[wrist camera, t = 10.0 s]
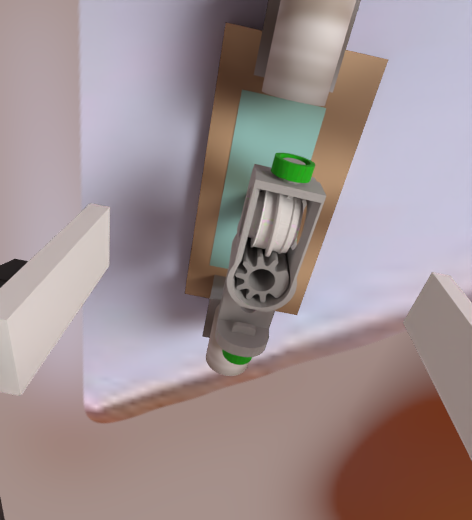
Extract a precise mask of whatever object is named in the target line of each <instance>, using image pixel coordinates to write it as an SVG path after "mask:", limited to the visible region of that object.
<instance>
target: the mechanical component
mask: <svg viewBox="0 0 472 520" xmlns="http://www.w3.org/2000/svg"><path fill="white" fill-rule="evenodd" d="M314 168H315V163H314V162H312V161H311V160H309V159H306V158H304V157H301V156H298V155H294V154H290V153H276V154H275V156H274V160H273V164H272V168H271V167H267V166H262V165H258V164H254V167H253V170H252V174H251V177H250V181H249V185H248V190H247V194H246V198H245V202H244V206H243V210H242V214H241V218H240V221H239V223H238V226H237V234H236V235H235V237H234V239H233V242H232V247H231V254H230V261H229V268H228V272H227V276H226V280H225V284H224V288H223V293H222V297H221V302H220V307H219V312H218V318H217V325H216V331H215V339H216V341H217V343H218V345H219V346H220V347H221V348H222V349H223V350H222V353H223V356H224V358H225V359H226V360H227V361H229V362H230V363H233V364H236V365H244V364H247V363H248V362H250V360H251V359H252V357H254V356H257V355H260V354H261V353H262V352H263V351H264V350H265V347H266V345H267V342H268V339H269V327H270V324H271V321H272V318H273V315H274V312H275V310H276V309H278V308H281V307H282V306H284V305H285V304H287V303H288V302H289V301H290V300H291V298H292V297H293V295H294V294H295V291H296V287H297V276H298V273H299V270H300V267H301V265H302V262H303V259H304V256H305V254H306V251H307V248H308V245H309V243H310V240H311V237H312V234H313V232H314V229H315V226H316V223H317V220H318V218H319V215H320V212H321V209H322V207H323V204H324V201H325V198H326V194H325V192H324V190H323V188H322V186H321V184H320V182H317V181H316V179H315V178H314V177H312V174H313V171H314ZM306 205H307V212H306V219H305V223H304V227H303V231H302V234H301V237H300V240H299V242H298V244H297V236H298V232H299V229H300V225H301V221H302V216H303V212H304V209H305V207H306Z"/></svg>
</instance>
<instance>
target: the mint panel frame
mask: <svg viewBox="0 0 472 520" xmlns="http://www.w3.org/2000/svg"><path fill="white" fill-rule="evenodd" d="M360 1H361V0H268V5H267V10H266V15H265V20H264V25H263V30H262V31H261V30H257V29H252V28H248V27H244V26H239V25H235V24H231V23H226V24H225V30H224V37H223V44H222V50H221V57H220V63H219V70H218V77H217V83H216V90H215V96H214V103H213V110H212V116H211V123H210V129H209V136H208V143H207V149H206V156H205V162H204V169H203V176H202V182H201V189H200V196H199V202H198V209H197V215H196V222H195V229H194V235H193V242H192V248H191V255H190V262H189V268H188V275H187V281H186V288H185V294H190V295H195V296H200V297H205V298H210V300H209V305H208V310H207V316H206V321H205V326H204V331H203V337H209V338H210V339H209V343H208V348H207V353H206V361H207V363H208V365H209V366H210V368H211V369H212V370H214V371H215V372H217V373H219V374H222V375H225V376H235V375H239V374H241V373H243V372H244V371H245V370H246V369H247V367H248V363H249V362H248V363H247V364H244V365H236V364H233V363H230V362H229V361H227V360H226V359H225V358H224V356H223V353H222V350H223V349H222V348H221V347H220V346H219V345H218V343H217V341H216V339H215V331H216V325H217V318H218V312H219V307H220V302H221V297H222V293H223V288H224V284H225V280H226V276H227V272H228V268H229V261H230V254H231V247H232V242H233V239H234V237H235V235H236V234H237V226H238V223H239V221H240V218H241V214H242V210H243V206H244V202H245V198H246V194H247V190H248V185H249V181H250V177H251V174H252V170H253V167H254V164H258V165H262V166H267V167H271V168H272V164H273V160H274V156H275V154H276V153H290V154H294V155H298V156H301V157H304V158H306V159H309V160H311V161H312V162H314V163H315V168H314V171H313V174H312V177H314V178H315V179H316V181H317V182H320V184H321V186H322V188H323V190H324V192H325V194H326V198H325V201H324V204H323V207H322V209H321V212H320V215H319V218H318V220H317V223H316V226H315V229H314V232H313V234H312V237H311V240H310V243H309V245H308V248H307V251H306V254H305V256H304V259H303V262H302V265H301V267H300V270H299V273H298V276H297V287H296V291H295V294H294V295H293V297H292V298H291V300H290V301H289V302H288V303H287V304H285V305H284V306H282V307H281V308H278V309H276V310H275V311H279V312H284V313H289V314H294V315H297V313H298V311H299V308H300V305H301V302H302V299H303V297H304V294H305V291H306V288H307V285H308V283H309V280H310V277H311V274H312V271H313V269H314V266H315V263H316V260H317V257H318V255H319V252H320V249H321V246H322V243H323V241H324V238H325V235H326V232H327V230H328V227H329V224H330V221H331V218H332V216H333V213H334V210H335V207H336V204H337V202H338V199H339V196H340V193H341V190H342V188H343V185H344V182H345V179H346V176H347V174H348V171H349V168H350V165H351V162H352V160H353V157H354V154H355V151H356V148H357V146H358V143H359V140H360V137H361V135H362V132H363V129H364V126H365V123H366V121H367V118H368V115H369V112H370V109H371V107H372V104H373V101H374V98H375V95H376V93H377V90H378V87H379V84H380V81H381V79H382V76H383V73H384V70H385V67H386V65H387V62H388V60H387V59H383V58H379V57H374V56H370V55H366V54H361V53H357V52H353V51H348V50H346V47H347V44H348V41H349V37H350V34H351V31H352V27H353V24H354V21H355V17H356V14H357V11H358V7H359V4H360ZM306 212H307V205H306V207H305V209H304V212H303V216H302V221H301V225H300V229H299V232H298V236H297V244H298V242H299V240H300V237H301V234H302V231H303V227H304V223H305V219H306Z"/></svg>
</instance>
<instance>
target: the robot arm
mask: <svg viewBox="0 0 472 520" xmlns="http://www.w3.org/2000/svg"><path fill="white" fill-rule="evenodd" d="M109 243H110V207H107V206H102V205H97V204H92V203H90V204H89V205H88V206H87V207H86V208H84V209H83V210H82V211H81V212H80V213H79V214H78V215H77V216H76V217H75V218H74V219H73V220H72V221H71V222H70V223H69V224H68V225H67V226H66V227H65V228H63V229H62V230H61V231H60V232H59V233H58V234H57V235H56V236H55V237H54V238H53V239H52V240H51V241H50V242H49V243H47V244H46V245H45V246H44V247H43V248H42V249H41V250H40V251H39V252H38V253H37V254H36V255H35V256H34V257H33V258H32V259H31V260H29V261H24V260H18V259H14V260H11V261H9V262H7V263H5V264H2V265H0V392H2V393H8V394H13V395H19V396H21V395H22V394H23V392H24V390H25V389H26V388H27V386H28V385H29V383H30V382H31V380H32V379H33V377H34V376H35V374H36V373H37V372H38V370H39V368H40V367H41V366H42V364H43V363H44V361H45V360H46V358H47V357H48V355H49V354H50V352H51V351H52V349H53V348H54V346H55V345H56V343H57V342H58V341H59V339H60V338H61V336H62V335H63V333H64V332H65V330H66V329H67V327H68V326H69V324H70V323H71V321H72V320H73V318H74V317H75V315H76V314H77V312H78V311H79V310H80V308H81V307H82V305H83V304H84V302H85V301H86V299H87V298H88V296H89V295H90V293H91V292H92V290H93V289H94V287H95V286H96V285H97V283H98V282H99V280H100V279H101V277H102V276H103V274H104V273H105V271H106V270H107V268H108V267H109ZM403 324H404V326H405V328H406V330H407V332H408V334H409V336H410V337H411V340H412V342H413V344H414V346H415V348H416V350H417V352H418V354H419V356H420V358H421V360H422V362H423V364H424V366H425V368H426V370H427V372H428V374H429V376H430V378H431V380H432V381H433V384H434V386H435V388H436V390H437V392H438V394H439V396H440V398H441V400H442V402H443V404H444V406H445V408H446V410H447V412H448V414H449V415H450V418H451V420H452V422H453V423H454V426H455V428H456V430H457V432H458V434H459V435H460V438H461V439H462V442H463V444H464V446H465V447H466V450H467V452H468V454H469V456H470V457H471V460H472V302H471V301H470V300H469V299H468V297H467V296H466V295H465V294H464V292H463V291H462V290H461V289H460V287H459V286H458V285H457V284H456V282H455V281H454V280H453V279H452V277H451V276H449V275H444V274H439V273H434V272H432V273H431V275H430V277H429V278H428V280H427V282H426V284H425V285H424V287H423V289H422V290H421V292H420V294H419V296H418V297H417V299H416V301H415V303H414V304H413V306H412V308H411V309H410V311H409V313H408V315H407V316H406V318H405V320H404V321H403ZM0 520H5V519H4V514H3V509H2V504H1V499H0Z"/></svg>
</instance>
